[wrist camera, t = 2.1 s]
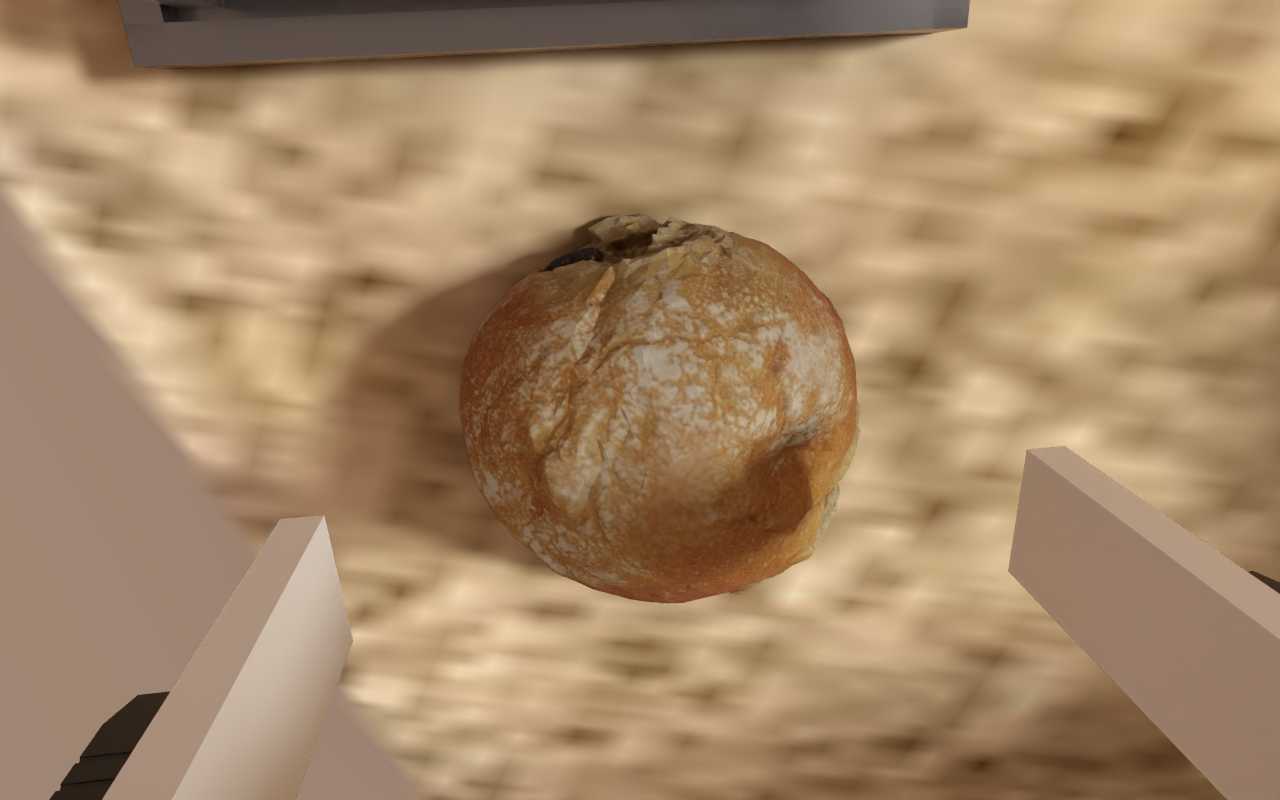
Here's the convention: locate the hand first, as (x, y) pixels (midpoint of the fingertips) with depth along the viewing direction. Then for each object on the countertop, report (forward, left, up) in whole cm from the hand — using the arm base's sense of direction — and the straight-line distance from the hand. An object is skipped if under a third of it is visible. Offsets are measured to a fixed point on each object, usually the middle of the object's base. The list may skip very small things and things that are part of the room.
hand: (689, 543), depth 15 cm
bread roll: (0, 0, -8) cm, 8 cm away
